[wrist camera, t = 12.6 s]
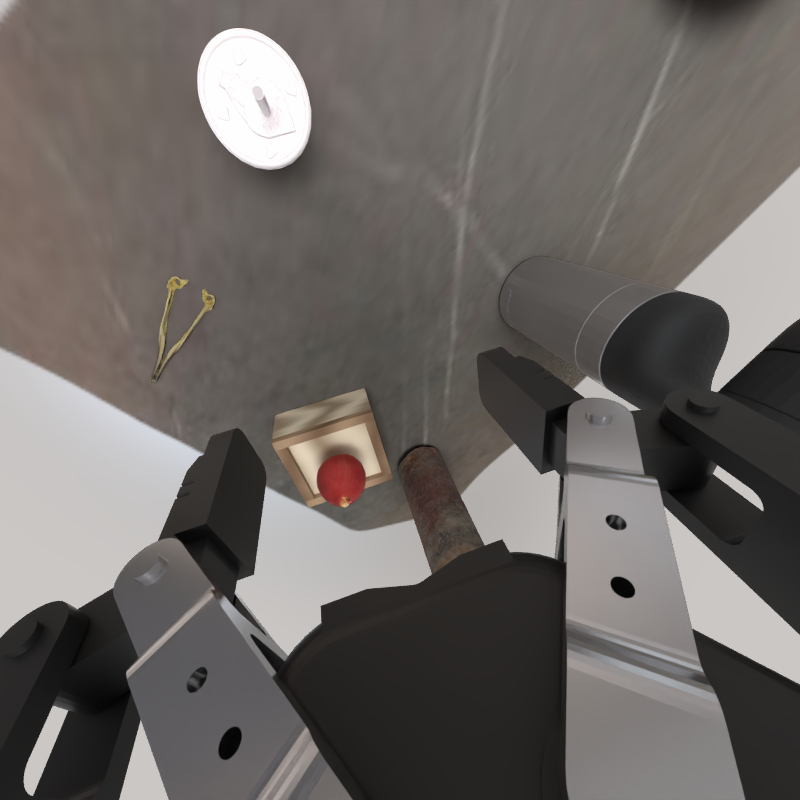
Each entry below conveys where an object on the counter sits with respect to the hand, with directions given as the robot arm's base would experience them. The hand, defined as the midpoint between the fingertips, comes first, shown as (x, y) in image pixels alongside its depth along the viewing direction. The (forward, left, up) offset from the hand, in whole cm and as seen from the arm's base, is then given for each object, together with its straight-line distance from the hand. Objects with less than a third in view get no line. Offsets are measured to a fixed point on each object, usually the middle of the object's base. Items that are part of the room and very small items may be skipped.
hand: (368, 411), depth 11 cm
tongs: (+17, +3, -29) cm, 34 cm away
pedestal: (+6, +22, -28) cm, 36 cm away
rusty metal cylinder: (-5, +32, -28) cm, 43 cm away
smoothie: (+1, -11, -28) cm, 30 cm away
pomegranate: (+6, +22, -23) cm, 33 cm away
